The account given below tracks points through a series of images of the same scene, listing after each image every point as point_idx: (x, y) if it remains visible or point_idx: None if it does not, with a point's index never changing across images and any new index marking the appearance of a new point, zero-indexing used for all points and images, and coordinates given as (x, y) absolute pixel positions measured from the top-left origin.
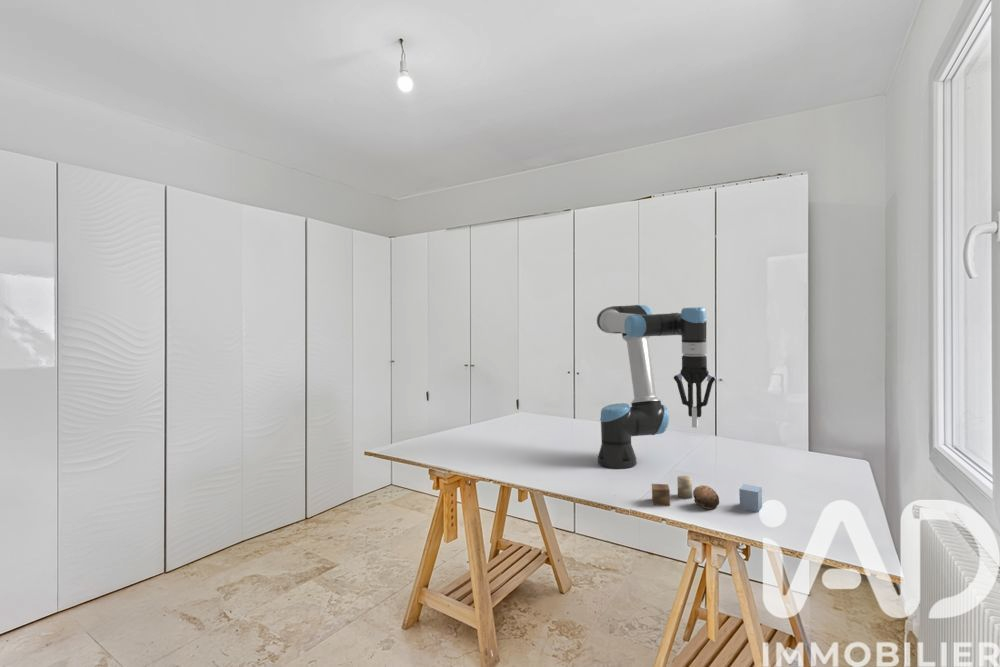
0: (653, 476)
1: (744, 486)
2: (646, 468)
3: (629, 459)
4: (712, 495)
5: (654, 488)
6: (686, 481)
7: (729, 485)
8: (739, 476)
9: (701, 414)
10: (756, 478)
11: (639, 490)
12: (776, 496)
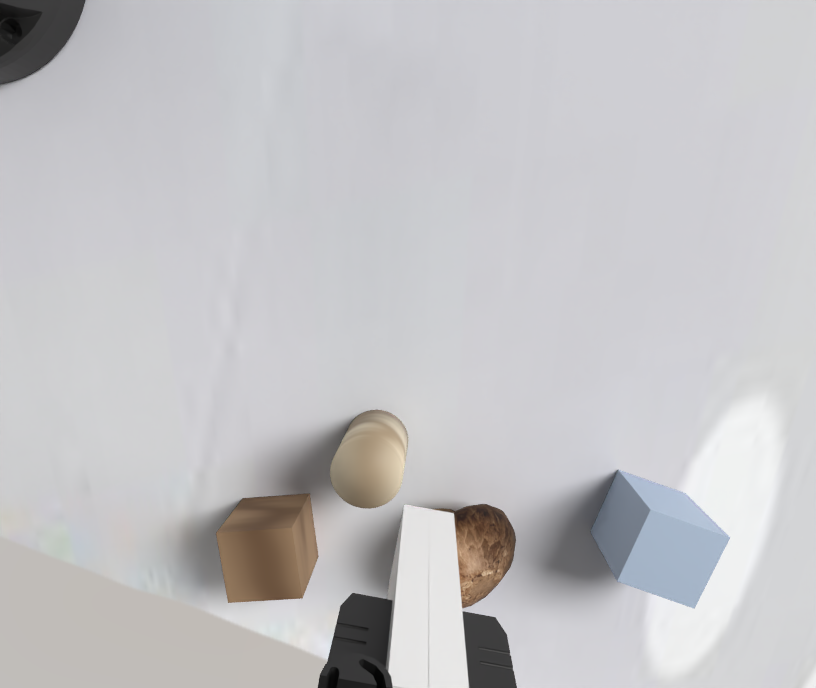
0: (214, 176)
1: (648, 542)
2: (159, 29)
3: (29, 13)
4: (488, 589)
5: (235, 591)
6: (376, 504)
7: (592, 237)
8: (672, 60)
9: (506, 640)
10: (759, 77)
11: (176, 406)
12: (783, 351)
